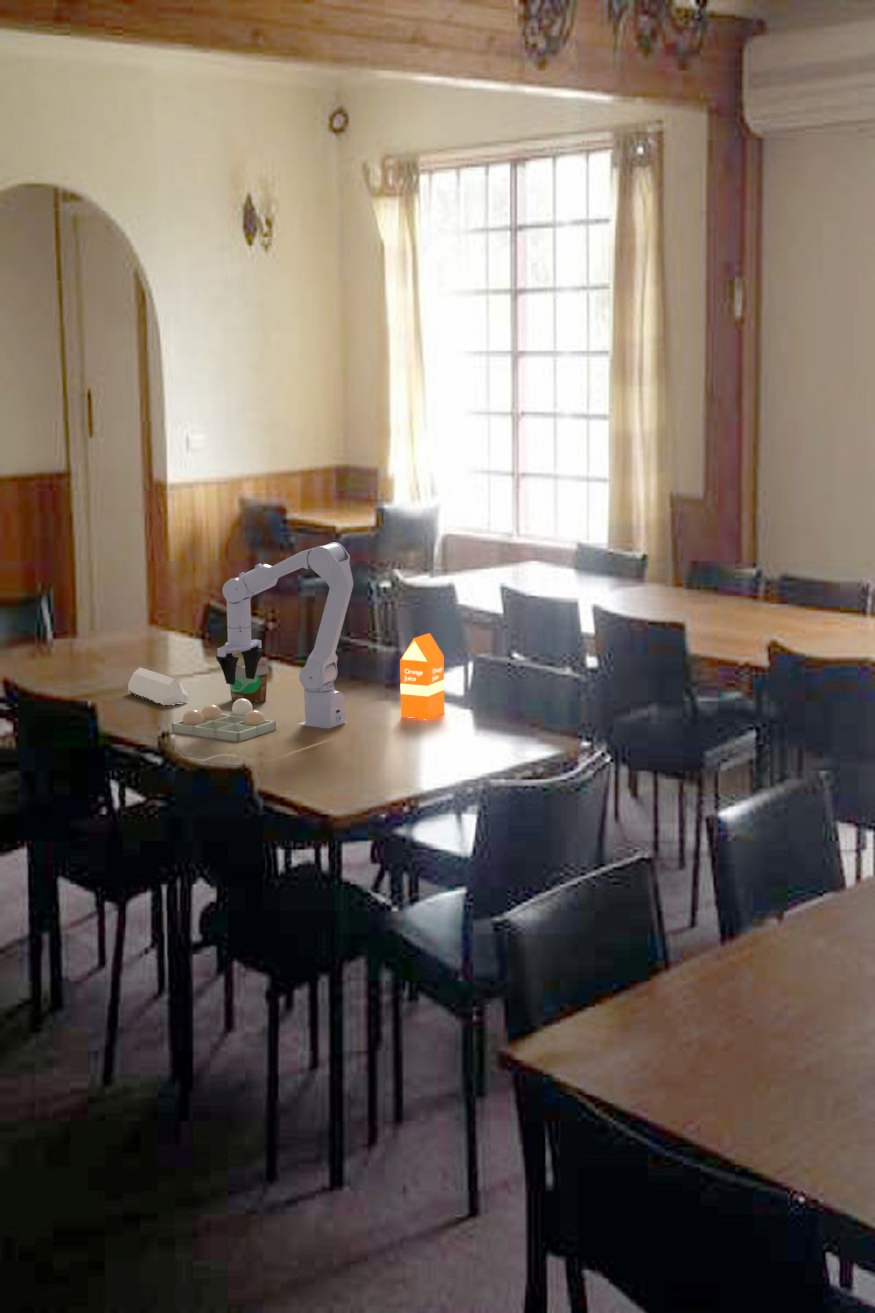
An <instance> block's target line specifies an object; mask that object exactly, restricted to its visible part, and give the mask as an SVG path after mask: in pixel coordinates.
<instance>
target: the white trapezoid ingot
mask: <svg viewBox="0 0 875 1313" xmlns="http://www.w3.org/2000/svg"><path fill="white" fill-rule="evenodd" d="M127 687H128V690H127V691H129V690H130V691H132V692H134V693H136V694H138V695H140V696H144V697H147V698H149V699H150V700H153V701H154V702H153V701H152V702H153V703H156V704H158V703H161V704H162V705H161V704H160V705H161V706H165V704H166V705H172V704H177V703H185V702H186V703H188V702H189V695H188V692H187V691H186V690H185V688H184V686H183V684H182V683H181V682H180V681H178V680H177V679H176V678H174V677H171V676H168V675H165V674H162V673H159V672H156V671H152V670H149V669H147V668H144V667H141V666H140V667H138V668H137V669H136V670H135V671H134V672H133V673H132V675H131V678H130V679H129V681H128V686H127ZM150 700H149V701H150ZM187 701H188V702H187ZM186 703H185V704H186Z"/></svg>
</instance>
